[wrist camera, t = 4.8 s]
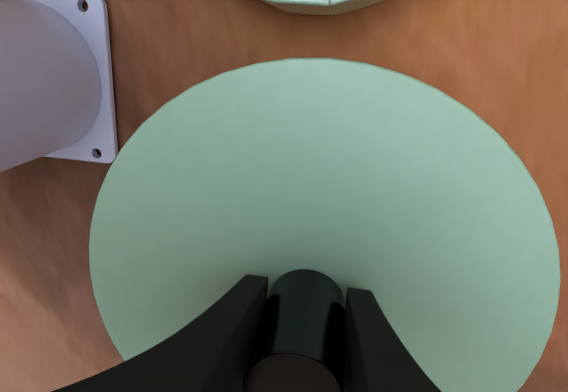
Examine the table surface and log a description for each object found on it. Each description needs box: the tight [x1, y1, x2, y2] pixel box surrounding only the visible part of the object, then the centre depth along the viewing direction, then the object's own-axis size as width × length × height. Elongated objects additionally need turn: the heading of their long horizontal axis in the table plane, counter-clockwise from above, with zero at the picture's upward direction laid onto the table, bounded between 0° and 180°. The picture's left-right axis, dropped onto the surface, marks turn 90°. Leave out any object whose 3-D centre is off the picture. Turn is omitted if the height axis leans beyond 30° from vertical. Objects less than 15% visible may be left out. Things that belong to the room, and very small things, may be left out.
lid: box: [89, 58, 561, 392], centre depth 11 cm, size 13×13×4 cm
